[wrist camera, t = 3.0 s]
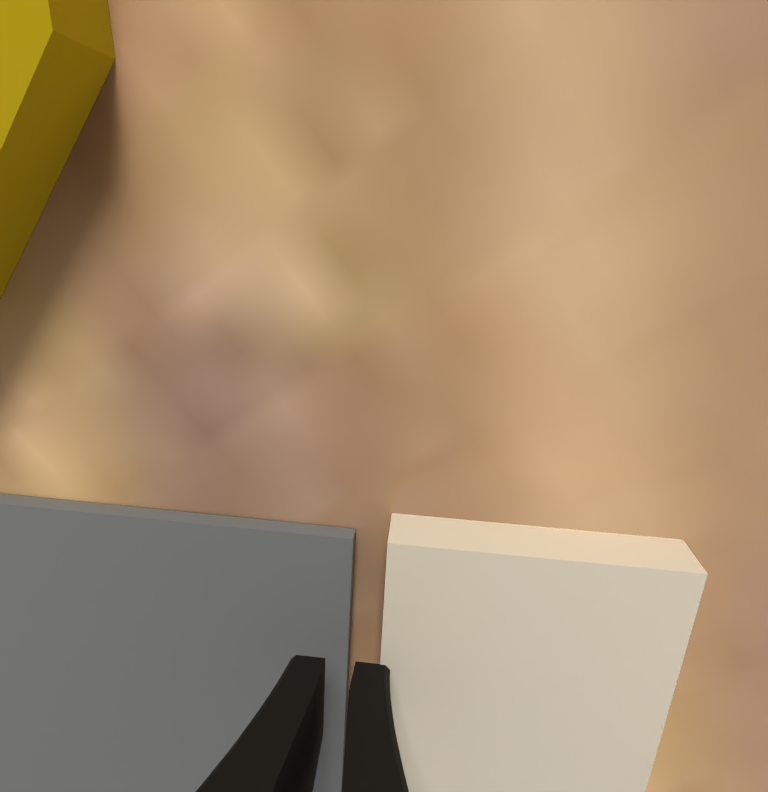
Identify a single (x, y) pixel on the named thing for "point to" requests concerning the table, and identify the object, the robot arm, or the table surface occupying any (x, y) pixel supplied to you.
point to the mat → (158, 640)
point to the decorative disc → (44, 103)
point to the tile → (532, 653)
